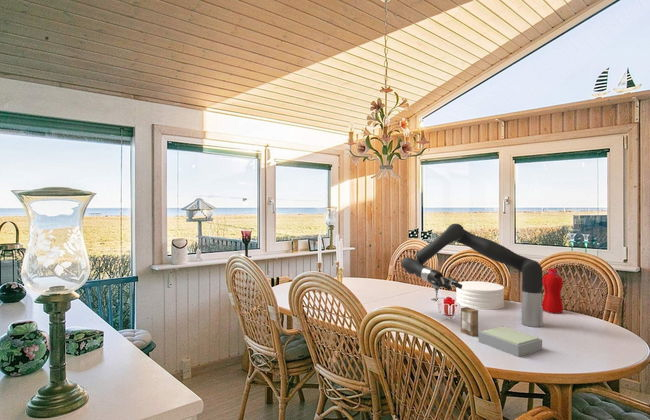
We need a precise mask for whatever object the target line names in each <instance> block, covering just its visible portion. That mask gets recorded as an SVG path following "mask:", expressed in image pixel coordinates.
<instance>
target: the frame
mask: <svg viewBox="0 0 650 420" xmlns="http://www.w3.org/2000/svg"><path fill="white" fill-rule="evenodd" d="M460 333H462V334H464V335H467V336H470V337H478V336H479V309H474V308H469V307H464V306H462V307H460Z"/></svg>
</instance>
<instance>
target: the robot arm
mask: <svg viewBox="0 0 650 420" xmlns="http://www.w3.org/2000/svg"><path fill="white" fill-rule="evenodd" d="M453 242H456V243H458V244H462V245H464V246H466V247H469V248H470V249H472V250H474V251H475V252H477V253H478V254H481V255H482V256H484V257H486V258H488V259H490V260H491V261H495V262H497V263H500V264H503V265H507V266H510V267H512V268H514V269H516V270H517V271H519V272H521V278H522V279H521V324H522V325H523V326H527V327H531V328H532V327H533V328H534V327H535V328H539V327H543V326H544V325H543V324H544V321H543V319H544V310H543V308H542V303H543V299H542V297H543V295H542V293H543V281H542V280H543V277H544V275H543V273H544V272H543V267H542V265H541V264H540V263H539V262H538V261H536V260H534V259H531V258H528V257H526V256H523V255H520V254H518V253H515V252H514V251H512V250H511V249H509V248H508V247H505V246H504V245H502V244H499V243H498V242H495V241H493V240H492V239H488V238H486V237H483V236H482V237H481V236H478V235H475V234H473V233H471V232H469V231H468V230H466V229H464V226H462V225H461V224H460V223H452V224H450V225H449V226H448V227H447V228H446V230H444V231H443V232H442V233H441V234H440V235H439V236H438V237H436V238H435V239H434V240H432V241H431V242H430V243H429V244H427V245H426V246H424V247H422V248H421V249H420V250H419V251H417V252H416V253H415V258H416V259H414V258H413V257H411V256H410V257H409V256H407V257H404V258H403V259H402V260H401V267H402V268H403V269H404V271H406V273H408V274H409V275H413V274H414V275H415V276H417V277H418V278H420V279H422V280H423V281H425V282H427V283H429V284H433V285H435V286H437V287H441V288H443V289H446V290H447V291H451V290H452V287H455V288H459V289H462V285H461V284H459V281H458V279H454V278H452V277H450V276H448V277H447V276H444V275H443V273H442V272H441V271H439V270H437V269H435V268H432V267H429V266H426V265H425V263H426V262H428V261H429V260H431V259H432V258H433V257H434V256H436V254H438V253H439V252H440V251H441V250H443V249H444V248H445V247H446V246H448V245H449V244H452V243H453Z"/></svg>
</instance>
